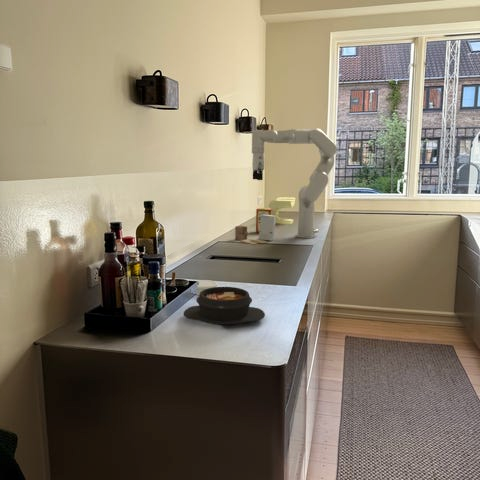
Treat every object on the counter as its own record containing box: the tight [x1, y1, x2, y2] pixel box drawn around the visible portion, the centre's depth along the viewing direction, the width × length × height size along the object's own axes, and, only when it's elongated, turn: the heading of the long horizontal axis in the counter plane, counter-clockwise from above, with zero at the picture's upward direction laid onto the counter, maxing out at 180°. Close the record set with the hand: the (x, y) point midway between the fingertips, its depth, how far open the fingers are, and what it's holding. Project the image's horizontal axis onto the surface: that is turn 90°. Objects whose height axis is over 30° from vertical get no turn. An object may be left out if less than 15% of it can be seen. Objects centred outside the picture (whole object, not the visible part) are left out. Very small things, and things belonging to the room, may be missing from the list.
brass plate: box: [238, 238, 269, 245], centre depth 272 cm, size 12×12×1 cm
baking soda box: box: [255, 207, 273, 234], centre depth 304 cm, size 10×6×16 cm
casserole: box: [182, 286, 266, 326], centre depth 142 cm, size 25×19×8 cm
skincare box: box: [258, 214, 276, 241], centre depth 277 cm, size 8×6×15 cm
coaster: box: [196, 279, 218, 296], centre depth 170 cm, size 10×10×4 cm
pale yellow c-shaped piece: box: [268, 196, 296, 225], centre depth 352 cm, size 30×16×18 cm, turn 167°
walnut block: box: [234, 225, 248, 241], centre depth 277 cm, size 5×5×8 cm
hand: (257, 179), depth 282 cm, fingers open, 9 cm apart
